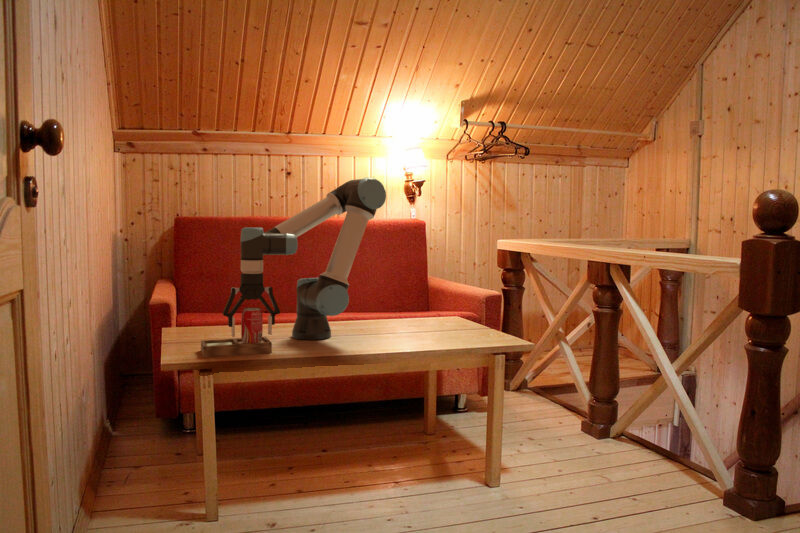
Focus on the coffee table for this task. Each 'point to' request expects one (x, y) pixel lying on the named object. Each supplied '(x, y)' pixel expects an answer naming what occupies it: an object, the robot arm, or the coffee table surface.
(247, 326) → the soda can
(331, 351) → the coffee table surface
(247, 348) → the wooden tray
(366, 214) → the robot arm
